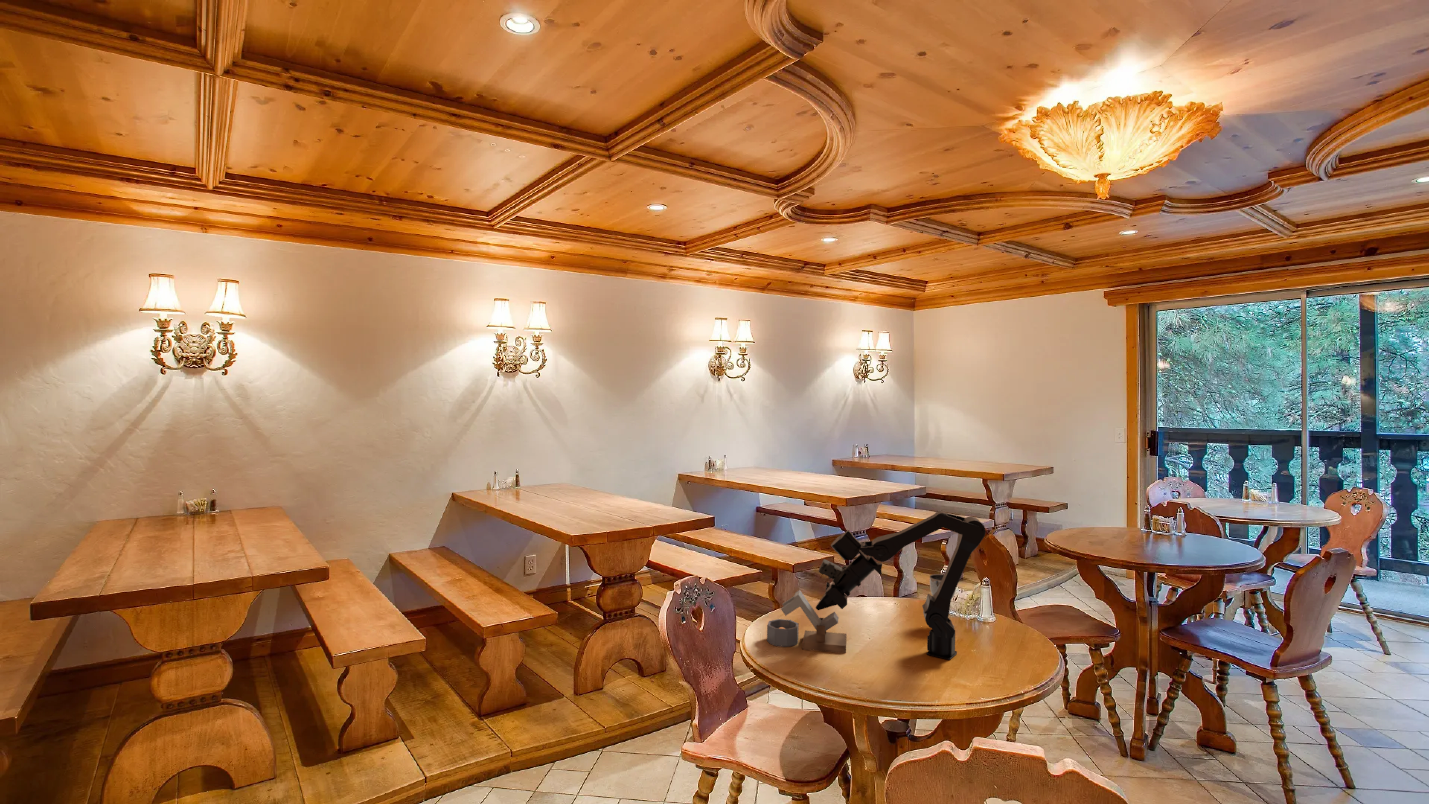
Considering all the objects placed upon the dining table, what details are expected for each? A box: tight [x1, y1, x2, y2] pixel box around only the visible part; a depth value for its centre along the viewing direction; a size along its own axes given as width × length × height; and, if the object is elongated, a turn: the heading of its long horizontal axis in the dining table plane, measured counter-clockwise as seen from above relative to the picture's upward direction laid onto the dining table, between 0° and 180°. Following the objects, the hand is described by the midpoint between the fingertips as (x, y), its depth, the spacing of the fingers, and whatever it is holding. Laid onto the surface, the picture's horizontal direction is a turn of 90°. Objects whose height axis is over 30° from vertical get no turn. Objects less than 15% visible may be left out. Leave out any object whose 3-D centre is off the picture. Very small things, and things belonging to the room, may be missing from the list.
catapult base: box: [801, 617, 848, 654], centre depth 203 cm, size 12×10×6 cm
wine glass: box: [929, 573, 957, 627], centre depth 221 cm, size 8×8×15 cm
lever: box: [780, 589, 840, 632], centre depth 204 cm, size 11×6×13 cm
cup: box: [766, 618, 800, 648], centre depth 206 cm, size 9×9×5 cm
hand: (816, 608), depth 204 cm, fingers closed
